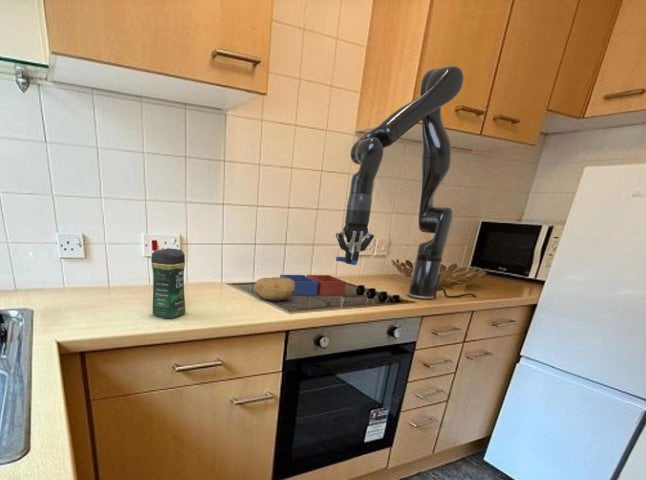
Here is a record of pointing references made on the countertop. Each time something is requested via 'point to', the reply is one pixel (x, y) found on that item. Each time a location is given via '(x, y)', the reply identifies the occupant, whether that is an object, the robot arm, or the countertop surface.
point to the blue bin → (303, 284)
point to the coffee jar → (168, 283)
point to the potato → (275, 288)
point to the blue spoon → (342, 259)
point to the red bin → (329, 285)
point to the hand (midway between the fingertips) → (350, 263)
